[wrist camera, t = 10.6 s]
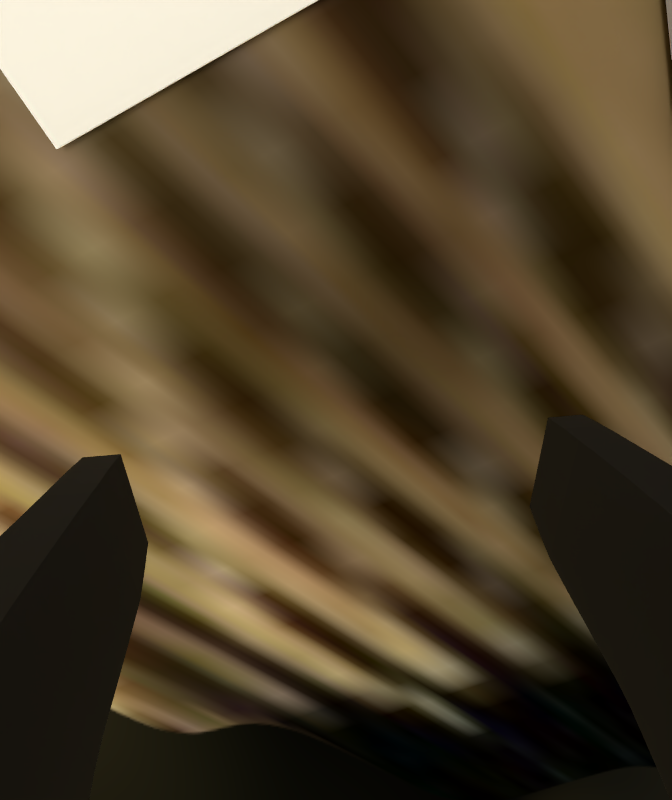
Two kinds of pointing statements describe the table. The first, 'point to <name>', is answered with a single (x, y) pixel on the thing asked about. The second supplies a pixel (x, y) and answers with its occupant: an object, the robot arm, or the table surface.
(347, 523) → the table surface
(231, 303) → the table surface
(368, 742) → the table surface
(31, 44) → the large cream panel
